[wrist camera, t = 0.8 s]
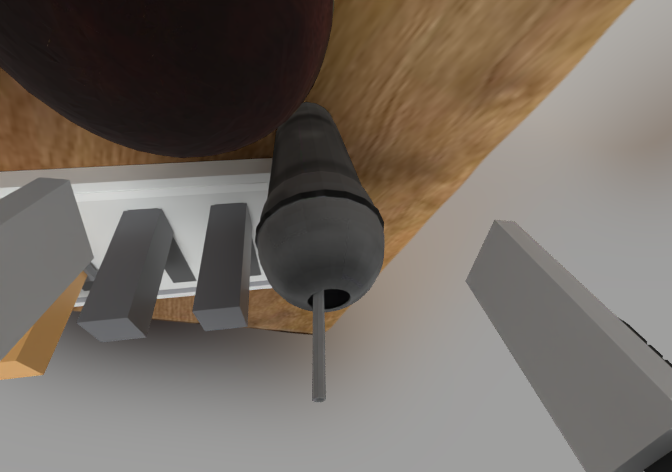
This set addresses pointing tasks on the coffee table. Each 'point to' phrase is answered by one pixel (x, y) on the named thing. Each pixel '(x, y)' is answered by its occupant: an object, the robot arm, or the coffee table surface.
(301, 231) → the beverage cup
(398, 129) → the coffee table surface
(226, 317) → the slotted peg board
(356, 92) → the coffee table surface
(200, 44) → the decorative mushroom
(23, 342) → the breaker handle
